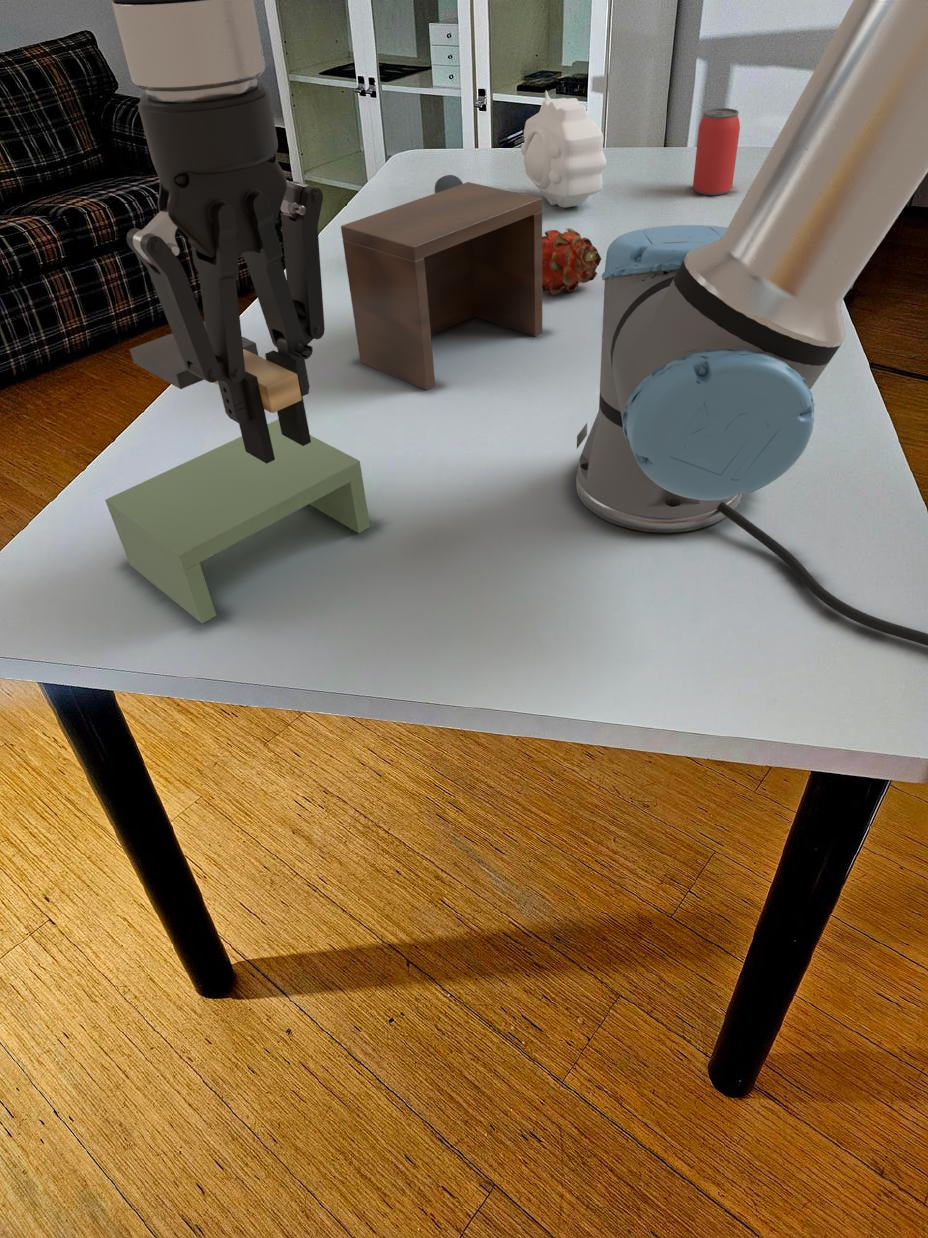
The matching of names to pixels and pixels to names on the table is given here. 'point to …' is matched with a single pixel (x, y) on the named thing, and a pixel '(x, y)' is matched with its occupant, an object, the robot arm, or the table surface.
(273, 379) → the wood-handled square paddle
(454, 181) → the paintbrush
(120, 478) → the table surface
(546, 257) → the dragon fruit
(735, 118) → the beer can
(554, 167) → the white ridged figurine
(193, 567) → the low shelf
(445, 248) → the wooden side table
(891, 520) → the table surface
